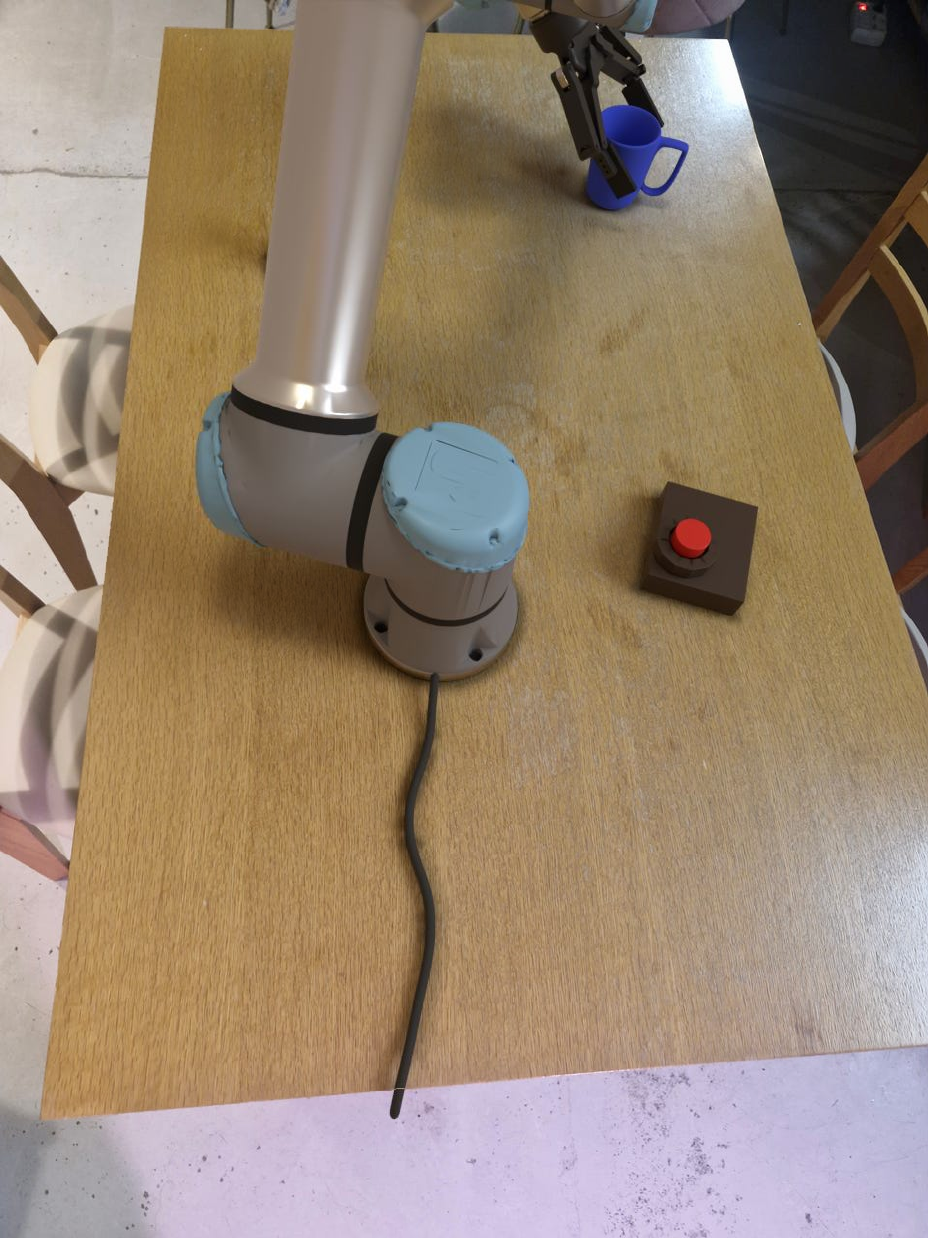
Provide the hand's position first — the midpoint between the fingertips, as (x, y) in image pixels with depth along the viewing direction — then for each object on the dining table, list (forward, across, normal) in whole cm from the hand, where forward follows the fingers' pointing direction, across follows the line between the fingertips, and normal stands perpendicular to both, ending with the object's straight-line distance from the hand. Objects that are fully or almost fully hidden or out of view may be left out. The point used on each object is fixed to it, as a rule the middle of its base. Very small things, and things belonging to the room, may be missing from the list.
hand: (641, 161), depth 109 cm
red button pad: (+19, -50, -11) cm, 55 cm away
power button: (+15, -53, -13) cm, 56 cm away
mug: (+4, 0, +5) cm, 6 cm away
